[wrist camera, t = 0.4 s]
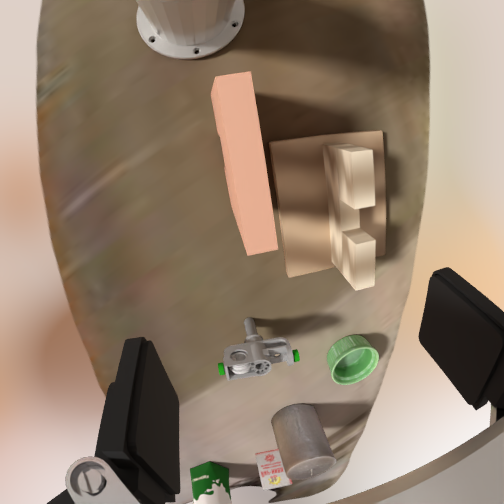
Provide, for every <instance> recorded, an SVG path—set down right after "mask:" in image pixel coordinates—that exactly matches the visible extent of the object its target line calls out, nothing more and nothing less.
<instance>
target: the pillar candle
mask: <svg viewBox="0 0 504 504" xmlns="http://www.w3.org/2000/svg"><path fill="white" fill-rule="evenodd" d="M271 423H272V426H273V430H274V434H275V438H276V442H277V446H278V449H279V453H280V456H281V460H282V463H283V467H284V470H285V473H286V476H287V478H289V479H293V480H302V479H308V478H312V477H315V476H318V475H320V474H322V473H324V472H326V471H328V470H329V469H330V468H332V467H333V465H334V464H335V463H336V459H335V457H334V455H333V453H332V450H331V448H330V445H329V442H328V440H327V437H326V435H325V432H324V430H323V427H322V425H321V422H320V420H319V418H318V415H317V412H316V410H315V408H314V407H313V406H311V405H306V404H294V405H290V406H287V407H285V408H283V409H281V410H280V411H278V412H277V413H276V414H275V415H274V417H273V418H272V420H271Z"/></svg>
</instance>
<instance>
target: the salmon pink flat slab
mask: <svg viewBox="0 0 504 504" xmlns="http://www.w3.org/2000/svg"><path fill="white" fill-rule="evenodd" d="M211 98H212V103H213V109H214V114H215V120H216V125H217V131H218V135H219V136H220V140H221V145H222V150H223V156H224V161H225V166H224V169H225V174H226V180H227V185H228V190H229V196H230V201H231V206H232V209H233V212H234V215H235V218H236V221H237V224H238V227H239V230H240V233H241V237H242V240H243V243H244V246H245V249H246V252H247V255H248V256H249V255H253V254H258V253H263V252H268V251H272V250H277V249H278V245H277V238H276V230H275V223H274V216H273V209H272V202H271V196H270V189H269V182H268V176H267V169H266V162H265V156H264V150H263V143H262V137H261V131H260V125H259V118H258V112H257V106H256V100H255V95H254V89H253V83H252V77H251V72H243V73H236V74H230V75H223V76H218V77H215V80H214V84H213V88H212V92H211Z"/></svg>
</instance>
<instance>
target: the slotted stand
mask: <svg viewBox="0 0 504 504" xmlns="http://www.w3.org/2000/svg"><path fill="white" fill-rule="evenodd" d="M268 143H269V150H270V156H271V163H272V170H273V176H274V183H275V190H276V197H277V205H278V212H279V219H280V227H281V234H282V242H283V249H284V257H285V265H286V273H287V275H288V277H289V278H290V277H294V276H299V275H303V274H307V273H312V272H316V271H320V270H325V269H329V268H333V267H337V268H338V270H339V271H340V272H341V273H342V274H343V276H344V277H345V278H346V279H347V281H348V282H349V283H350V284H351V285H352V287H353V288H354V289H355V290H356V291H357V290H361V289H364V288H368V287H371V286H374V280H375V257H378V256H382V255H385V249H386V186H385V162H384V146H383V133H382V131H380V130H370V131H357V132H346V133H336V134H326V135H317V136H309V137H301V138H293V139H286V140H279V141H273V142H268Z"/></svg>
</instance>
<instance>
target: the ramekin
mask: <svg viewBox="0 0 504 504" xmlns="http://www.w3.org/2000/svg"><path fill="white" fill-rule="evenodd" d="M378 361H379V354H378V352H377V350H376V349H375V348H373V347H372V346H371V345H370V343H369V342H368V341H367V340H366V339H365V338H364V337H362V336H360V335H351V336H347V337H344V338H342V339H340V340H339V341H337V342H336V343H335V344H334V345H333V346H332V347H331V349H330V350H329V352H328V355H327V362H328V365H329V368H330V370H331V376H332V379H333V380H334V381H335V382H336V383H338V384H341V385H349V384H353V383H356V382H359V381H361V380H362V379H364V378H365V377H367V376H368V375H369V374H370V373H371V372H372V371H373V370H374V369H375V367H376V366H377V364H378Z"/></svg>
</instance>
